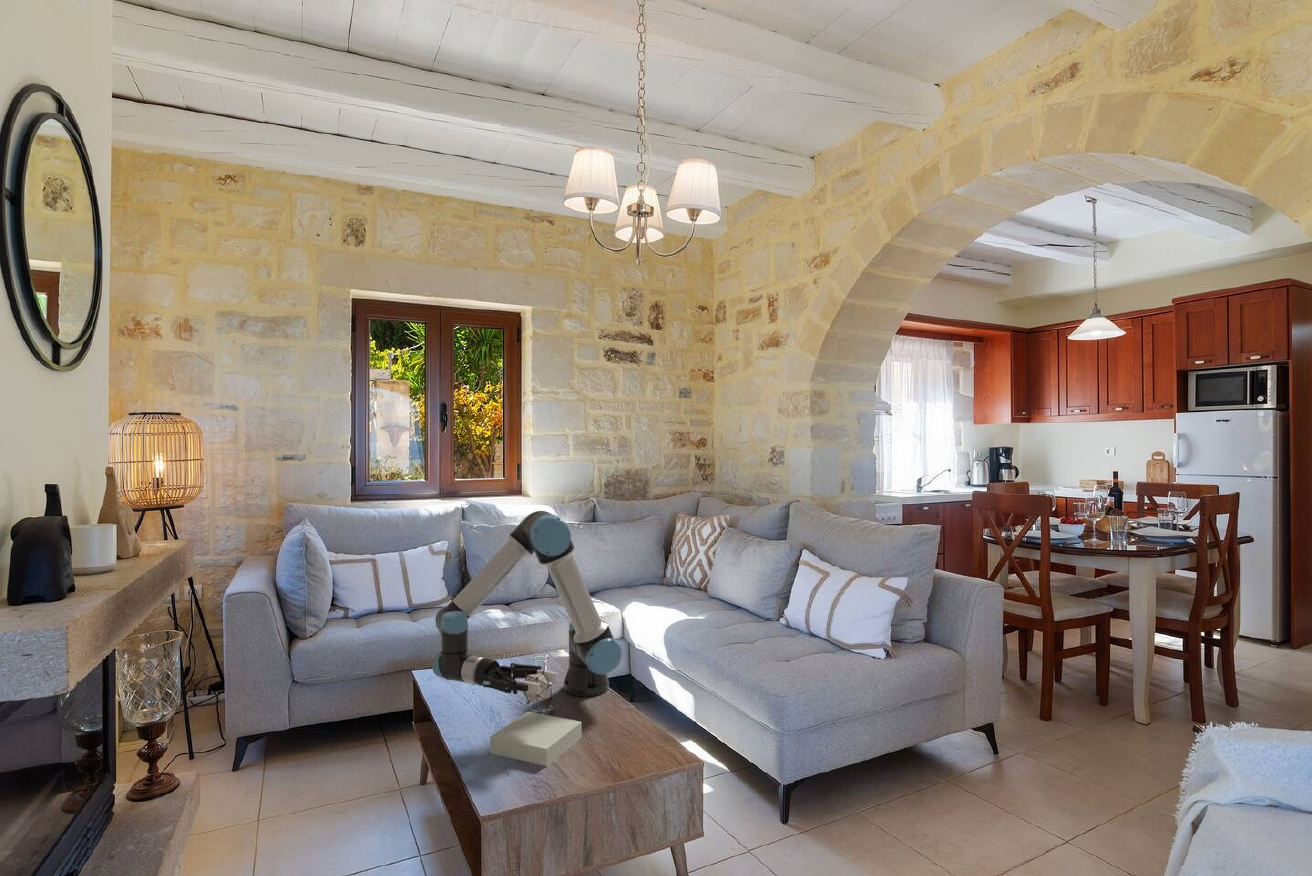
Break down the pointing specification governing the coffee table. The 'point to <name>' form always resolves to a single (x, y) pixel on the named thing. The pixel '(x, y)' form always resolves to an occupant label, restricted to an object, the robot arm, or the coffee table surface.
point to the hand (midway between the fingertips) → (548, 683)
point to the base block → (536, 738)
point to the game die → (543, 687)
